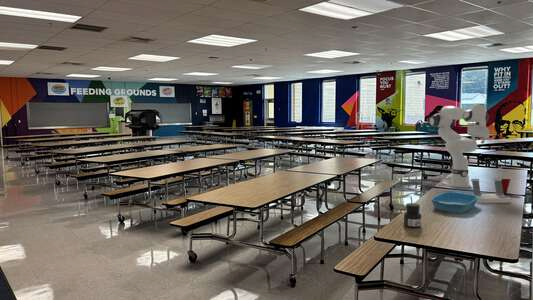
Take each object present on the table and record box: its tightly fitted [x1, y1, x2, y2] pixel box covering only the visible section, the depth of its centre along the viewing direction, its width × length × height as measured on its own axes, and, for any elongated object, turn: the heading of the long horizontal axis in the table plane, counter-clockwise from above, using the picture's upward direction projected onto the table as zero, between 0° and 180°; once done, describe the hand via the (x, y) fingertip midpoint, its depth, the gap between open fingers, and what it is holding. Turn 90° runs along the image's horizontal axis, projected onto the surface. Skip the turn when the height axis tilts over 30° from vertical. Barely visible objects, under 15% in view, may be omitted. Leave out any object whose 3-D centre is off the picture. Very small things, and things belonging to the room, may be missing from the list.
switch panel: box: [470, 193, 512, 204], centre depth 263 cm, size 14×22×3 cm, turn 92°
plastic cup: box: [494, 176, 512, 194], centre depth 286 cm, size 11×11×12 cm
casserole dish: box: [431, 191, 478, 214], centre depth 244 cm, size 37×22×7 cm, turn 137°
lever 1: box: [470, 178, 482, 196], centre depth 263 cm, size 2×4×12 cm, turn 92°
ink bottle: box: [403, 202, 422, 229], centre depth 206 cm, size 10×9×12 cm
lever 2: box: [493, 177, 505, 196], centre depth 264 cm, size 2×4×12 cm, turn 91°
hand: (478, 142), depth 282 cm, fingers open, 8 cm apart
